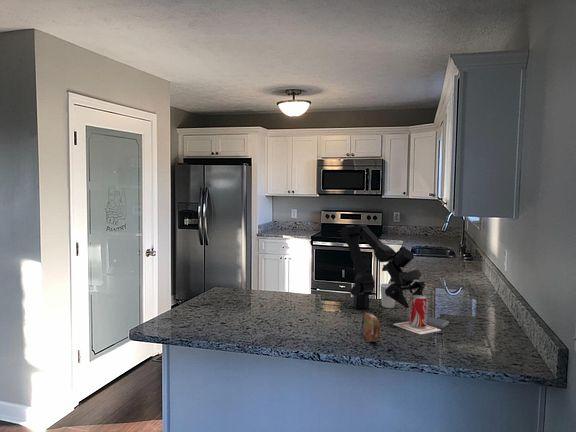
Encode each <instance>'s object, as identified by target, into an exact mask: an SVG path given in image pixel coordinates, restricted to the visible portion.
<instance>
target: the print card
mask: <svg viewBox="0 0 576 432" xmlns="http://www.w3.org/2000/svg"><path fill="white" fill-rule="evenodd" d="M392 325H393V326H395V327H398V328H401V329H404V330H407V331H410V332H413V333H415V334H418V335H427V334H431V333H436V332H437V333H438V332H441V331H442V329H441V328H440V329H439V328H438V327H434V326H430V325H426V326H425V327H424V328H415V327H412V326H411V325H410V324H409V320H407V321H403V322H396V323H392Z"/></svg>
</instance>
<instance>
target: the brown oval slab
mask: <svg viewBox="0 0 576 432" xmlns="http://www.w3.org/2000/svg"><path fill="white" fill-rule="evenodd" d="M380 322H381V321H379V319H378V317H376V316H375V315H374V314H373V313H371V312H370V313H369V312H364V314H363V315H362V320H361V333H362V335H363V337H364V338H365V339H366V340H367V342H369V343H377V342H378V341H379V338H380V330H381V323H380Z"/></svg>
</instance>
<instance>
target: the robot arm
mask: <svg viewBox="0 0 576 432" xmlns="http://www.w3.org/2000/svg"><path fill="white" fill-rule="evenodd" d="M340 235H341V237H342V240H343V241H344V242H345V244H346V245H347V247H348V250H349V253H350V257H351V261H352V264H353V268H354V272H355V277H354V285H353V286H352V288H351V289H350V290H349V291H350V294H351V295H352V297H353V299H352V305H350V306H351V308H354V309H355V310H357V311H358V310H363V311H364V310H371V308H370V296H371V295H373V292H374V289H375V286H376V285H375V283H376V282H375V279H374V276H373V274H372V273H368V271H367V268H366V265H365V262H364V261H365V260H364V258H363V254H362V252H361V251H362V250H361V247H360V243H359V241H360V238H362V239H363V240H364V241H365V242H366V244H367V245H368V246H370V247H371V249H372V250H373V253H374V256H375V259H377V261H378V262H379V263H386V264H383V265H382V268H381V271H382V272H387V274H388V275H389V277H390V278H391V279H390V284H391V285H390V286H389V287H388V288H387V289H385V294H386V296H387V297H390V298H392V299H394V300H395V302H397V303H398V304H400V305H401V306H402V307H404V308H406V309H409V307H410V305H409V302H407V299H406V298H405V296H404V292H405V291H409V292H410V294H411V296H412V295H422V296H424V295H423V292H424V289H425V287H426V286H427V285H426V283H425V282H424V281H423V280H420V279H421V278H420V277H422V273H421V272H420V270H419V269H417V268H416V269H413V270H411V271H404V270H403V268H405V267H407V266H408V265H409V264H410V263H411V262H412V261H413V260H414V259H415V255H414V254H413V252H411V250H409V249H407V248H406V246H401V247H399V250H397V251H395V249H393V248H392V247H391V246H389V245H387V244H385V243H384V242H382V241H381V240H380V239H379V237H377V235H376V234H375V233H374V232H373V231H372V230H371V229H370V228H369V226H368V225H366V224H358V225H343V226H342V227H341V229H340Z"/></svg>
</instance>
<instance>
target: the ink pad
mask: <svg viewBox="0 0 576 432" xmlns="http://www.w3.org/2000/svg"><path fill="white" fill-rule="evenodd" d="M449 324H450V321H448V320H444V319H439V318H434V317H430V316H427V324H426V325H428V326H431V327H434V328H438V329H439V328H440V329H444V328H446V327H447V326H448V325H449Z"/></svg>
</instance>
